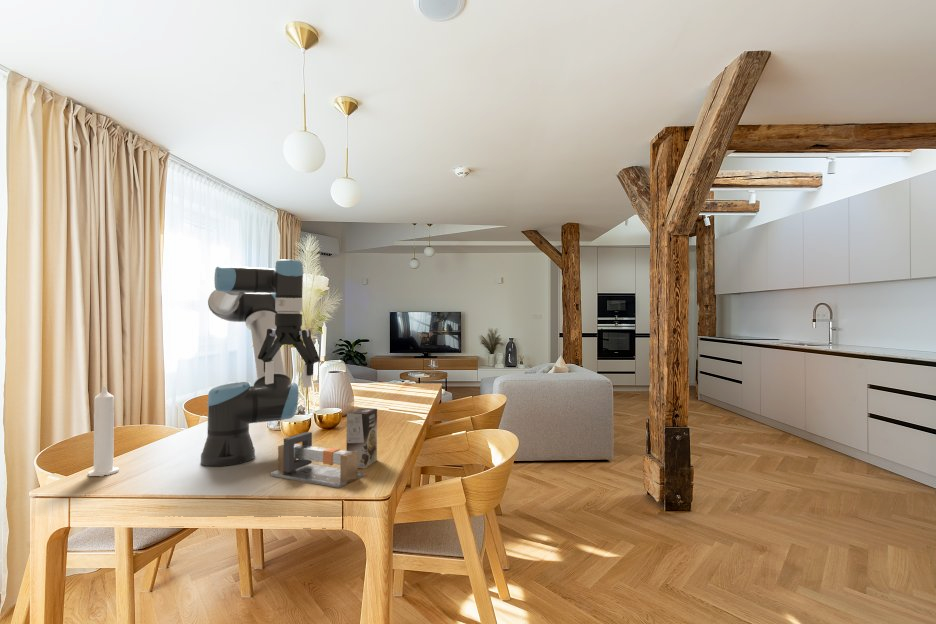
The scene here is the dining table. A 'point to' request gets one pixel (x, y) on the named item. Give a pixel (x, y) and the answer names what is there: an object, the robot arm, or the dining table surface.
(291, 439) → the grey square ring
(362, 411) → the coffee box
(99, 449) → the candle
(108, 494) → the dining table surface
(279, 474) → the rail
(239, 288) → the robot arm
